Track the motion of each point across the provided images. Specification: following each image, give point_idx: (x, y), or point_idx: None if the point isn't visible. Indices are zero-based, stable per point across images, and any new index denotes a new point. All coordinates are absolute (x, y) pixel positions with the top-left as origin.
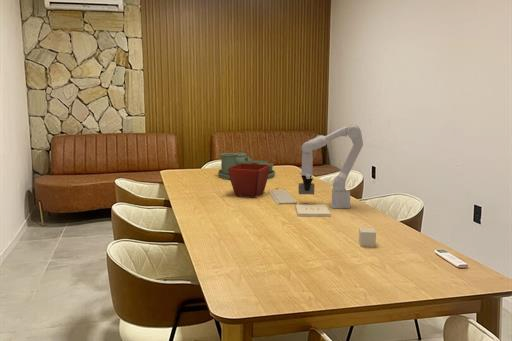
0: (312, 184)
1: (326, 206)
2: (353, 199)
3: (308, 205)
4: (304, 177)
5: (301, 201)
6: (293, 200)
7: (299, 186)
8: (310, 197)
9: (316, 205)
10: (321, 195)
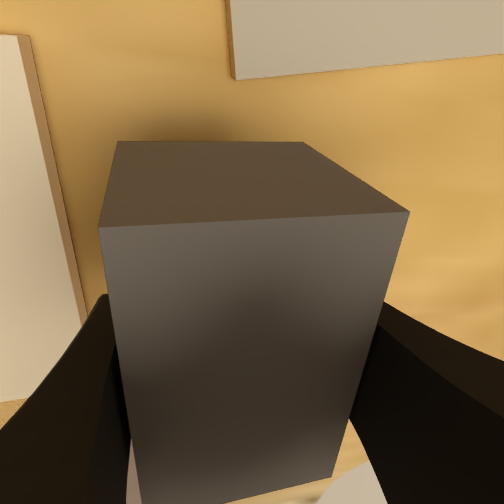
0: (220, 486)
1: (12, 397)
2: (338, 474)
3: (7, 231)
4: (497, 499)
5: (346, 155)
6: (346, 48)
7: (103, 213)
8: (466, 246)
9: (33, 315)
10: (490, 321)
